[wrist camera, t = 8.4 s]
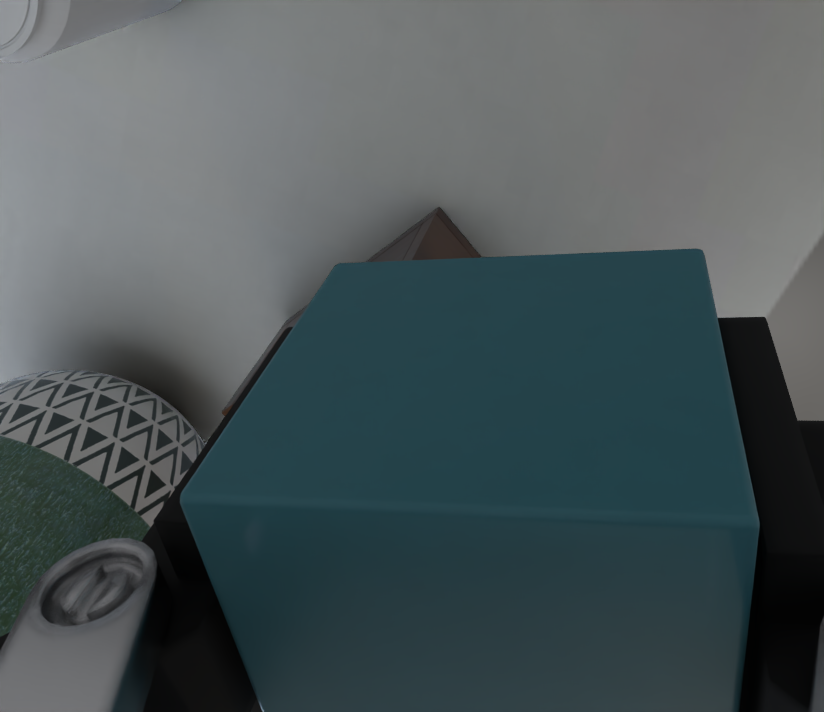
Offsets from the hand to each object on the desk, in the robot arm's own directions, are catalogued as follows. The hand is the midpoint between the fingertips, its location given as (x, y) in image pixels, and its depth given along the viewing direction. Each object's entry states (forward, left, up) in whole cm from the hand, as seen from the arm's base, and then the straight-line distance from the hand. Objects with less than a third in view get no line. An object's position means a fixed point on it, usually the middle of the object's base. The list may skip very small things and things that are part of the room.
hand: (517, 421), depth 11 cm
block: (0, 0, 0) cm, 0 cm away
